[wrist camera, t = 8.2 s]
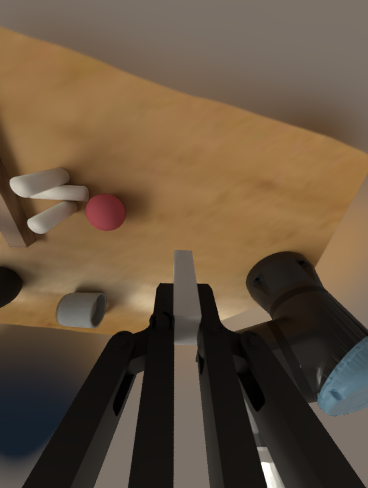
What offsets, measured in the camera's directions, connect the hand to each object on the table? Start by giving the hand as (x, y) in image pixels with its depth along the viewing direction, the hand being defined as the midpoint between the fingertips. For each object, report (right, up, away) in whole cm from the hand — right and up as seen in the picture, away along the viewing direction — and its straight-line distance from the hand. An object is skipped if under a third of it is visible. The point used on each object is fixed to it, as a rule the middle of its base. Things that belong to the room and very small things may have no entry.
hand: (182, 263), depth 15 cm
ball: (-13, +7, +13) cm, 19 cm away
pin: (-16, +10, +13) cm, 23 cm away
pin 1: (-20, +13, +12) cm, 27 cm away
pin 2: (-20, +8, +15) cm, 26 cm away
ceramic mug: (-23, -12, +28) cm, 38 cm away
